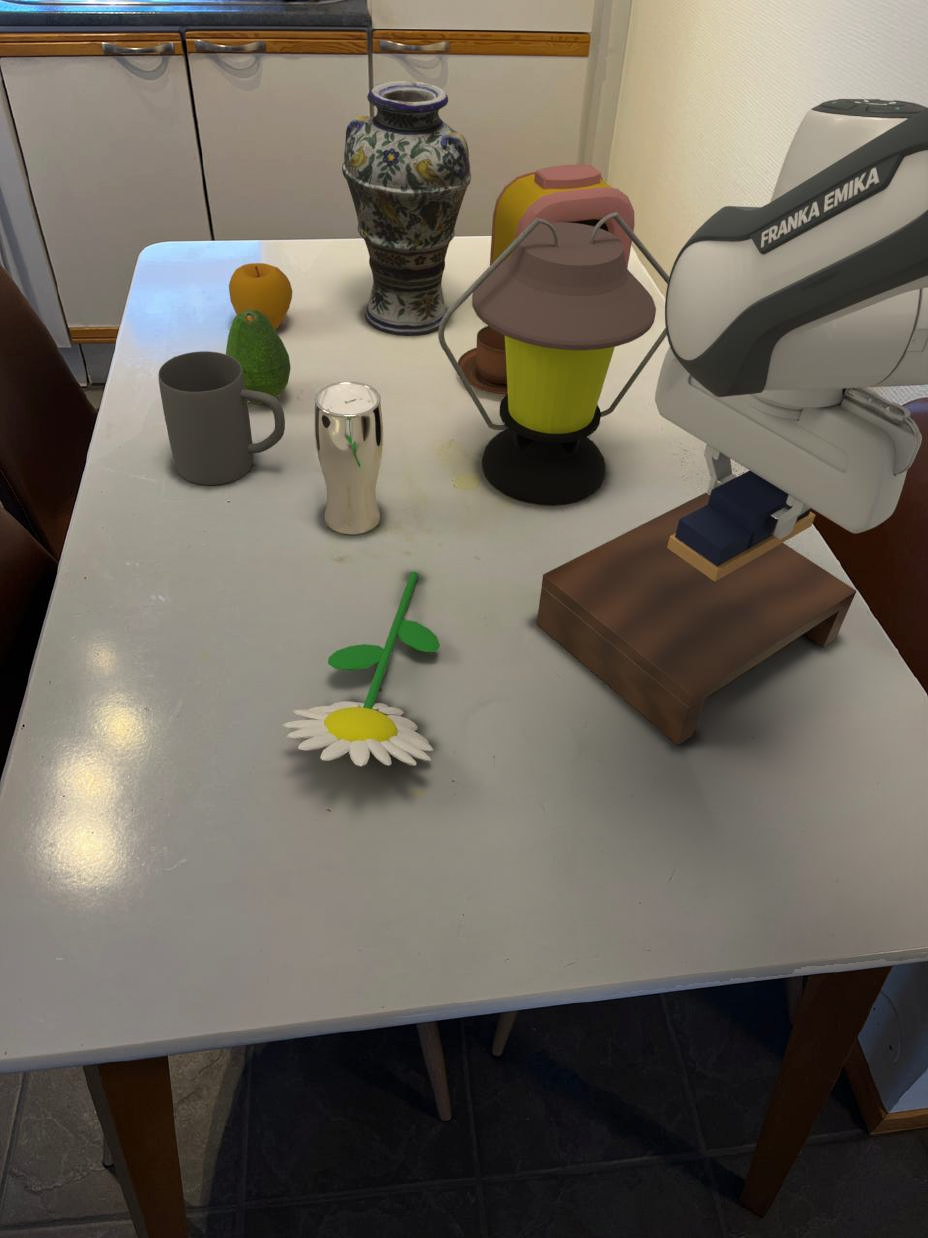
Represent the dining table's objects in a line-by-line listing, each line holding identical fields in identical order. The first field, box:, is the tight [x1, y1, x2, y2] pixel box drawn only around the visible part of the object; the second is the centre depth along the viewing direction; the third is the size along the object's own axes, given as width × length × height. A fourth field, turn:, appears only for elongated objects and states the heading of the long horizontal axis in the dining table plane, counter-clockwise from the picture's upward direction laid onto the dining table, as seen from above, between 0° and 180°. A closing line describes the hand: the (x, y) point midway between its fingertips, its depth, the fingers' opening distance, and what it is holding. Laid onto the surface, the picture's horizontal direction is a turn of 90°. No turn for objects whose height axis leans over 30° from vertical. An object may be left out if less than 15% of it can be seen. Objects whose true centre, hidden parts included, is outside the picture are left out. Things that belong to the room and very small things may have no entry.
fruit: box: [225, 310, 292, 405], centre depth 119 cm, size 8×8×12 cm
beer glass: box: [314, 381, 384, 536], centre depth 101 cm, size 7×7×15 cm
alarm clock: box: [489, 164, 635, 269], centre depth 140 cm, size 18×11×19 cm, turn 112°
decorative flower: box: [282, 571, 441, 767], centre depth 88 cm, size 13×5×30 cm
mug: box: [157, 350, 286, 486], centre depth 108 cm, size 14×9×12 cm
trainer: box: [667, 470, 816, 581], centre depth 76 cm, size 12×5×6 cm, turn 128°
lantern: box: [437, 212, 670, 506], centre depth 105 cm, size 25×19×30 cm
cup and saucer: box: [457, 325, 508, 395], centre depth 128 cm, size 12×12×6 cm
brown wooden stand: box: [536, 492, 857, 746], centre depth 94 cm, size 19×23×6 cm
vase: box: [341, 80, 472, 337], centre depth 132 cm, size 17×17×30 cm
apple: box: [228, 262, 293, 330], centre depth 134 cm, size 8×8×9 cm
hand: (747, 513), depth 76 cm, fingers closed on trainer, 4 cm apart
